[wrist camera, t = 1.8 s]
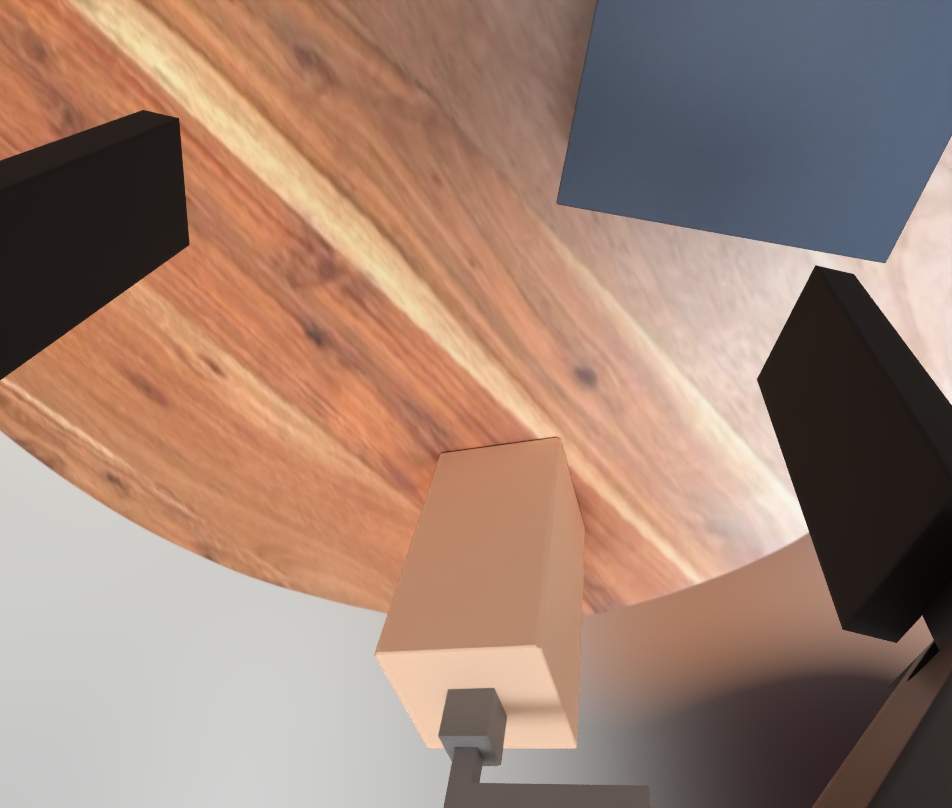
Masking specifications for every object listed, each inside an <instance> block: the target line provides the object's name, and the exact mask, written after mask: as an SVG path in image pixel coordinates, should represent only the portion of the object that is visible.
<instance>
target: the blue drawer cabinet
mask: <svg viewBox="0 0 952 808" xmlns="http://www.w3.org/2000/svg"><path fill="white" fill-rule="evenodd" d="M951 136H952V0H597V2H596V7H595V12H594V17H593V22H592V27H591V32H590V37H589V42H588V47H587V52H586V57H585V62H584V67H583V72H582V77H581V82H580V87H579V92H578V97H577V102H576V107H575V112H574V117H573V122H572V127H571V132H570V137H569V142H568V147H567V152H566V157H565V162H564V167H563V172H562V177H561V182H560V187H559V192H558V197H557V204H559V205H564V206H570V207H575V208H581V209H586V210H592V211H597V212H603V213H609V214H614V215H620V216H625V217H631V218H636V219H642V220H647V221H653V222H659V223H664V224H670V225H675V226H681V227H686V228H692V229H697V230H703V231H709V232H714V233H720V234H725V235H731V236H736V237H742V238H747V239H753V240H759V241H764V242H770V243H775V244H781V245H786V246H792V247H797V248H803V249H809V250H814V251H820V252H825V253H831V254H836V255H842V256H847V257H853V258H859V259H864V260H870V261H875V262H881V263H886V261H887V259H888V257H889V255H890V254H891V252H892V250H893V248H894V246H895V244H896V242H897V240H898V238H899V236H900V234H901V232H902V230H903V229H904V227H905V225H906V223H907V221H908V219H909V217H910V215H911V213H912V211H913V209H914V207H915V205H916V203H917V202H918V200H919V198H920V196H921V194H922V192H923V190H924V188H925V186H926V184H927V182H928V180H929V178H930V176H931V175H932V173H933V171H934V169H935V167H936V165H937V163H938V161H939V159H940V157H941V155H942V153H943V151H944V150H945V148H946V146H947V144H948V142H949V140H950V138H951Z"/></svg>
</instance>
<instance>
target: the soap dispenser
mask: <svg viewBox="0 0 952 808" xmlns="http://www.w3.org/2000/svg"><path fill="white" fill-rule="evenodd" d="M584 544H585V527H584V523H583V519H582V516H581V512H580V509H579V505H578V501H577V498H576V494H575V491H574V487H573V483H572V480H571V476H570V473H569V469H568V465H567V462H566V458H565V454H564V451H563V447H562V444H561V440H560V439H559V438H550V439H542V440H535V441H528V442H520V443H513V444H506V445H499V446H491V447H484V448H477V449H469V450H462V451H455V452H448V453H441V454H440V456H439V459H438V462H437V465H436V468H435V471H434V474H433V477H432V480H431V484H430V487H429V490H428V493H427V496H426V499H425V502H424V505H423V508H422V511H421V514H420V517H419V520H418V523H417V526H416V529H415V532H414V535H413V538H412V541H411V545H410V548H409V551H408V554H407V557H406V560H405V563H404V566H403V569H402V572H401V575H400V578H399V581H398V584H397V587H396V590H395V593H394V596H393V599H392V602H391V606H390V609H389V612H388V615H387V618H386V621H385V624H384V627H383V630H382V633H381V636H380V640H379V642H378V645H377V649H376V652H375V657H376V659H377V661H378V662H379V664H380V666H381V668H382V669H383V671H384V673H385V675H386V676H387V678H388V680H389V681H390V683H391V685H392V686H393V689H394V690H395V692H396V694H397V695H398V697H399V699H400V701H401V702H402V704H403V706H404V708H405V709H406V711H407V713H408V715H409V716H410V718H411V720H412V721H413V723H414V725H415V727H416V728H417V730H418V732H419V734H420V735H421V737H422V739H423V741H424V742H425V744H426V746H427V748H445V750H446V752H447V753H448V755H449V757H450V759H451V761H452V766H451V771H450V777H449V782H448V787H447V792H446V798H445V803H444V808H653V799H652V796H651V792H650V788H649V786H629V785H569V784H568V785H567V784H504V783H502V784H501V783H479V782H480V775H481V769H482V766H498V765H501V760H502V752H503V748H576V747H577V731H578V706H579V705H578V704H579V679H580V678H579V677H580V650H581V625H582V598H583V571H584Z"/></svg>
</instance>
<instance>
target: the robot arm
mask: <svg viewBox="0 0 952 808" xmlns="http://www.w3.org/2000/svg"><path fill="white" fill-rule="evenodd" d="M188 245H189V233H188V221H187V209H186V197H185V185H184V173H183V161H182V149H181V137H180V124H179V118H175V117H171V116H166V115H162V114H158V113H154V112H149V111H145V110H142V111H139V112H136V113H133V114H131V115H128V116H125V117H122V118H119V119H117V120H114V121H111V122H108V123H105V124H102V125H100V126H97V127H94V128H91V129H88V130H86V131H83V132H80V133H77V134H74V135H71V136H69V137H66V138H63V139H60V140H57V141H55V142H52V143H49V144H46V145H43V146H40V147H38V148H35V149H32V150H29V151H26V152H24V153H21V154H18V155H15V156H12V157H9V158H7V159H4V160H1V161H0V380H1V379H3V378H4V377H5V376H7V375H8V374H10V373H11V372H12V371H14V370H15V369H17V368H18V367H19V366H21V365H22V364H24V363H25V362H26V361H28V360H29V359H31V358H32V357H33V356H35V355H36V354H38V353H39V352H40V351H42V350H43V349H45V348H46V347H47V346H49V345H50V344H52V343H53V342H54V341H56V340H57V339H59V338H60V337H61V336H63V335H64V334H66V333H67V332H68V331H70V330H71V329H73V328H74V327H75V326H77V325H78V324H80V323H81V322H82V321H84V320H85V319H87V318H88V317H89V316H91V315H92V314H93V313H95V312H96V311H98V310H99V309H100V308H102V307H103V306H105V305H106V304H107V303H109V302H110V301H112V300H113V299H114V298H116V297H117V296H119V295H120V294H121V293H123V292H124V291H126V290H127V289H128V288H130V287H131V286H133V285H134V284H135V283H137V282H138V281H140V280H141V279H142V278H144V277H145V276H147V275H148V274H149V273H151V272H152V271H154V270H155V269H156V268H158V267H159V266H161V265H162V264H163V263H165V262H166V261H168V260H169V259H170V258H172V257H173V256H175V255H176V254H177V253H179V252H180V251H181V250H183V249H184V248H186V247H187V246H188ZM757 381H758V384H759V387H760V389H761V392H762V395H763V398H764V401H765V404H766V407H767V410H768V413H769V416H770V419H771V422H772V425H773V427H774V430H775V433H776V436H777V439H778V442H779V445H780V448H781V451H782V454H783V457H784V460H785V462H786V465H787V468H788V471H789V474H790V477H791V480H792V483H793V486H794V489H795V492H796V495H797V498H798V500H799V503H800V506H801V509H802V512H803V515H804V518H805V521H806V524H807V527H808V530H809V533H810V535H811V538H812V541H813V544H814V547H815V550H816V553H817V556H818V559H819V562H820V565H821V567H822V570H823V573H824V576H825V579H826V582H827V585H828V588H829V591H830V594H831V597H832V600H833V603H834V606H835V609H836V611H837V614H838V617H839V620H840V623H841V626H842V629H843V630H847V631H851V632H855V633H859V634H863V635H867V636H871V637H875V638H879V639H883V640H887V641H892V642H895V643H897V642H898V641H899V640H900V639H901V638H902V637H903V635H904V634H905V633H906V632H907V631H908V630H909V629H910V628H911V627H912V626H913V624H915V623H916V621H917V620H918V619H919V618H920V617H921V616H922V615H923V617H924V620H925V622H926V624H927V626H928V628H929V630H930V632H931V635H932V637H933V639H934V640H933V642H932V643H931V644H930V645H929V646H928V647H927V648H926V649H925V650H924V651H923V652H922V653H921V654H920V655H919V656H918V657H917V658H916V659H915V660H914V661H913V662H912V663H911V664H910V665H909V666H908V667H907V668H906V669H905V670H904V671H903V672H902V673H901V674H900V675H899V677H897V678H896V679H895V680H894V681H893V683H892V684H891V685H890V686H889V687H888V688H890V689H891V690H892V691H893V693H892V694H891V696H890V697H889V698H888V700H887V701H886V703H885V704H884V706H883V707H882V708H881V710H880V711H879V713H878V714H877V715H876V717H875V718H874V720H873V721H872V723H871V724H870V726H869V727H868V728H867V730H866V731H865V733H864V734H863V736H862V737H861V738H860V740H859V741H858V743H857V744H856V746H855V747H854V748H853V750H852V751H851V753H850V754H849V755H848V757H847V758H846V760H845V761H844V763H843V764H842V766H841V767H840V768H839V770H838V771H837V773H836V774H835V776H834V777H833V778H832V780H831V781H830V782H829V784H828V785H827V787H826V788H825V790H824V791H823V793H822V794H821V795H820V797H819V798H818V800H817V801H816V802H815V804H814V805H813V807H812V808H952V405H951V404H950V403H949V401H948V400H947V398H946V397H945V396H944V394H943V393H942V392H941V390H940V389H939V388H938V386H937V385H936V384H935V382H934V381H933V380H932V378H931V377H930V376H929V374H928V373H927V372H926V370H925V369H924V368H923V366H922V365H921V364H920V362H919V361H918V360H917V358H916V357H915V356H914V354H913V353H912V352H911V350H910V349H909V348H908V346H907V345H906V344H905V342H904V341H903V339H902V338H901V337H900V335H899V334H898V333H897V331H896V330H895V329H894V327H893V326H892V325H891V323H890V322H889V321H888V319H887V318H886V317H885V315H884V314H883V313H882V311H881V310H880V309H879V307H878V306H877V305H876V303H875V302H874V301H873V299H872V298H871V297H870V295H869V294H868V293H867V291H866V290H865V289H864V287H863V286H862V285H861V283H860V282H859V280H858V279H857V278H856V276H855V275H854V274H851V273H846V272H842V271H838V270H833V269H829V268H825V267H820V266H816V265H815V267H814V269H813V271H812V273H811V275H810V277H809V279H808V281H807V283H806V285H805V287H804V289H803V291H802V293H801V295H800V297H799V298H798V300H797V302H796V304H795V306H794V308H793V310H792V312H791V314H790V316H789V318H788V320H787V322H786V324H785V326H784V328H783V330H782V332H781V334H780V336H779V337H778V339H777V341H776V343H775V345H774V347H773V349H772V351H771V353H770V355H769V357H768V359H767V361H766V363H765V365H764V367H763V369H762V371H761V373H760V374H759V376H758V378H757Z"/></svg>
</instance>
